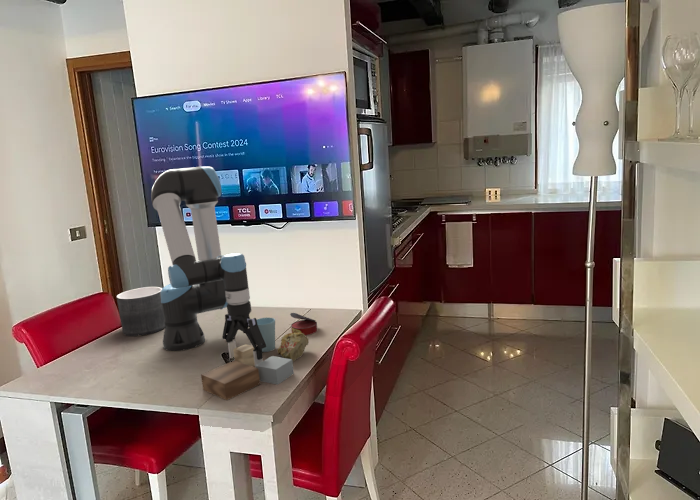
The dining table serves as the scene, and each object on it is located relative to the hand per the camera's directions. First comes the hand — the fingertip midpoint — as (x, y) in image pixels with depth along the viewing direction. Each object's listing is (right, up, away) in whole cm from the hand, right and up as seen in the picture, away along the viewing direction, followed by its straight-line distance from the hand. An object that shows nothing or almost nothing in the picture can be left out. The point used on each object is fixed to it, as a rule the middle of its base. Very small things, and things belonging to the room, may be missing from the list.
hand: (246, 364), depth 175 cm
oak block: (0, 0, 0) cm, 0 cm away
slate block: (+11, -2, -11) cm, 16 cm away
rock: (+14, +1, +4) cm, 15 cm away
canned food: (+17, +6, +29) cm, 34 cm away
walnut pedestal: (-1, -3, -16) cm, 16 cm away
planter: (-51, +4, +48) cm, 70 cm away
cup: (+5, +2, +13) cm, 14 cm away
